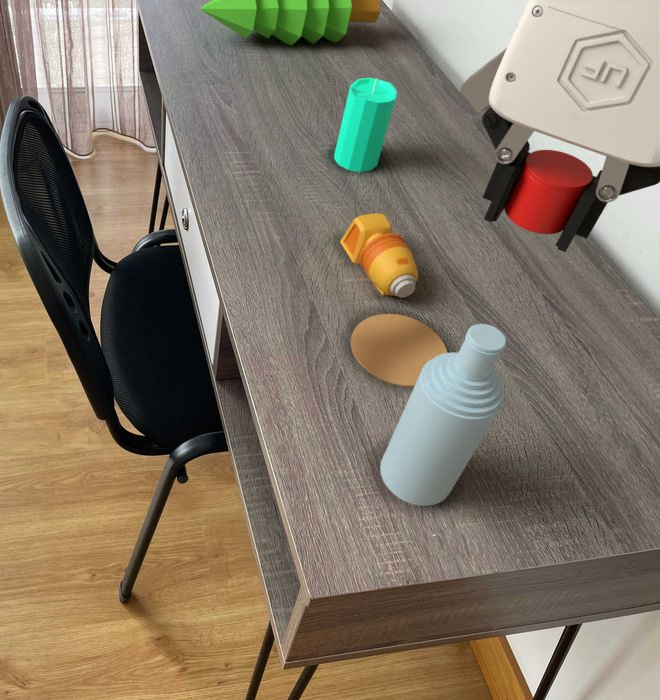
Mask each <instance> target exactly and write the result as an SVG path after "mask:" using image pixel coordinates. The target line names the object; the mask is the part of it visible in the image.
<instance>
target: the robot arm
mask: <svg viewBox="0 0 660 700" xmlns="http://www.w3.org/2000/svg"><path fill="white" fill-rule="evenodd" d="M460 86H461V87H460V94H461V96H462V97H463V98H464V99H465V100H466V102H467V103H468V104H469V106H470V107H471V108H472V109H473V110H474V112H475V113H476V114H477V115H479V116H480V117H481V122H482V125H483V127H484V128H485V131H486V133H487V135H488V137H489V139H490V142H491V143H492V145H493V147H494V153H493V154H494V159H495V160H496V164H495V166H494V168H493V171H492V173H491V176H490V178H489V179H488V183H487V185H486V187H485V190H484V192H483V194H482V199H483V200H486V201H490V204H489V205H488V208H487V211H486V213H485V215H484V218H483V221H487V222H489V223H491V224H492V223H493V222H497V221H498V219H499V218H500V216H501V214H503V212H504V211H505V204H506V202H507V200H508V198H509V196H510V193H511V191H512V189H513V187H514V185H515V182H516V180H517V178H518V176H519V174H520V171H521V169H522V167H523V165H524V162H525V160H526V157H527V156H528V155H529V154H530V153H531V152H529V151H530V150H531V145H530V143H529V139H530V138H531V137H532V135H533V133H534V132H536V133H539V134H542V135H545V136H547V137H550V138H553V139H556V140H559V141H561V142H563V143H567V144H570V145H572V146H576V147H579V148H581V149H584V150H587V151H590V152H592V153H596V154H597V155H602V156H604V157H605V160H604V163H603V166H602V169H600V170H599V171H598V173H597V175H596V176H595V175H593V179H592V181H591V183H590V184H589V185H588V186H587V188H586V190H585V191H584V193H583V195H582V197H581V199H580V201H579V202H578V204H577V206H576V208H575V210H574V212H573V213H572V215H571V217H570V219H569V221H568V223H567V225H566V226H565V228H564V230H563V231H561V234H560V236H559V237H558V239H557V241H556V243H555V247H557V248H556V249H557V250H558V251H561V252H564V253H566V252H567V250H568V248H569V247H570V245H571V243H572V241H573V240H574V238H575V236H578V237H580V238H583V239H586V240H587V239H588V238H589V236H590V234H591V233H592V231H593V229H594V228H595V226H596V224H597V222H598V220H599V219H600V218H601V215H602V214H603V212H604V210H605V209H606V207H607V205H608V204H609V203H612V202H614V201H616V200H617V199H618V198H619V196H622V195H626V194H630V193H633V192H636V191H639V190H643V189H646V188H649V187H653V186H656V185H658V184H660V0H528V1H527V2H526V4H525V7H524V8H523V10H522V13H521V15H520V18H519V19H518V22H517V24H516V26H515V29H514V30H513V34H512V36H511V38H510V40H509V42H508V44H507V46H506V47H505V48H504V49H503V50H502V51H501V52H499V53H498V54H497V55H495V56H494V57H493V58H491V59H490V60H489V61H488V62H487V63H485V64H484V65H482V66H480V68H479V69H478V70H476V71H475V72H474V73H472V74H471V75H470V76H469V77H468V78H467V79H466V80H465V81H464V83H463V84H461V85H460Z"/></svg>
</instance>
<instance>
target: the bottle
mask: <svg viewBox="0 0 660 700" xmlns="http://www.w3.org/2000/svg"><path fill="white" fill-rule="evenodd" d="M464 338H465V339H464V341H463V343H462V345H461V347H460V349H459V351H457V352H448V353H444V354H441V355H438V356H436V357H434V358H433V359H431V360H430V361H428V362H427V363H426V364H425V365H424V367H423V368H422V371H421V373H420V375H419V377H418V380H417V382H416V384H415V386H414V387H413V388H412V391H411V393H410V396H409V398H408V400H407V403H406V404H405V407H404V409H403V411H402V413H401V415H400V418H399V420H398V422H397V425H396V427H395V428H394V431H393V434H392V436H391V438H390V440H389V443H388V445H387V447H386V449H385V452H384V453H383V455H382V458H381V461H380V466H379V467H380V475H381V478H382V481H383V483H384V485H385V486H386V487H387V489H388V490H389V491H390V492H391V493H392V494H393V495H395V496H396V497H397V498H398V499H400V500H402V501H403V502H406V503H408V504H411V505H415V506H420V507H421V506H422V507H429V506H434V505H438V504H440V503H441V502H443V501H445V500H446V499H447V498H448V496H449V495H450V493H451V492H452V490H453V488H454V487H455V485H456V483H457V482H458V481H459V479H460V477H461V475H462V473H463V472H464V470H465V469H466V467H467V465H468V463H470V460H471V459H472V457H473V455H474V454H475V452H476V451H477V449H478V447H479V445H480V444H481V442H482V441H483V439H484V437H485V436H486V434H487V433H488V431H489V429H490V427H491V426H492V424H493V422H494V421H495V419H496V417H497V416H498V414H499V412H500V411H501V409H502V407H503V405H504V402H505V387H504V383H503V381H502V379H501V377H500V375H499V374H498V373H497V371H496V370H495V369H494V367H495V364H496V363H497V361H498V359H499V357H500V356H501V354H502V353H503V352H504V351H505V349H506V347H507V340H506V336H505V334H504V333H503V332H502V331H501V330H500V329H499V328H497V327H495V326H494V325H492V324H491V325H490V324H488V323H487V324H486V323H478V324H473V325H471V326H470V327H469V328H468V330H467V332H466V333H465V337H464Z"/></svg>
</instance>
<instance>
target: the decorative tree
mask: <svg viewBox="0 0 660 700" xmlns="http://www.w3.org/2000/svg"><path fill="white" fill-rule="evenodd" d="M198 10H200V11H202V12H203V13H205V14H206V15H208V16H209V17H211V18H212V19H214V20H216V21H218V22H219V23H220V24H222V25H224V26H225V27H227V28H228V29H230V30H231V31H233V32H234V33H236V34H238V36H239V35H240V37H243V38H244V39H248V38H249V36H250V35H251V34H252V33H253V32H255V33H257V34H260V35H261V36H263V37H265V38H267V39H269V38H270V37H271V36H272V35H273V37H275V38H277V39H278V40H280V41H281V42H283V43H284V44H286V45H289V46H293V45H294V44H295V43H296V42H297V41H298V40H300V39H301V37H302V38H304V39H305V40H306V41H308V42H309V43H310V44H314V45H316V43H317V42H318V41H319V40H320V39H321V38H322V37H323V38H324V39H326V40H328V41H329V42H331V43H338V42H339V41H340V40H341V39H343V38H344V37H345V36H346V35H347V31H348V26H349V23H377V21H378V19H379V17H380V14H381V4H380V0H211V1H209V2H207V3H206V4H204V5H202V6H201V7H199V8H198Z"/></svg>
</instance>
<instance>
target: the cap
mask: <svg viewBox="0 0 660 700" xmlns="http://www.w3.org/2000/svg"><path fill="white" fill-rule="evenodd" d="M529 153H530V154H529V155H528V156H527V157H526V160H525V162H524V165H523V167H522V169H521V171H520V174H519V176H518V178H517V180H516V182H515V185H514V187H513V189H512V191H511V193H510V196H509V198H508V200H507V202H506V204H505V208H504V212H505V215H506V216H507V218H508V219H509V220H510V221H511V222H512V223H513V224H515V225H516V226H518V227H519V228H521V229H524V230H526V231H528V232H531V233H535V234H538V235H539V234H540V235H553V234H554V235H555V234H558V233H562V232H563V230H564V228H565V226H566V225H567V223H568V221H569V219H570V217H571V215H572V213H573V212H574V210H575V208H576V206H577V204H578V202H579V201H580V199H581V197H582V195H583V193H584V191H585V190H586V188H587V186H588V185H589V184H590V183H591V181H592V179H593V176H594V174H593V171H592V169H591V168H590V167H589V165H588V164H587V163H586V162H584V161H583V160H581V159H580V158H578V157H577V156H574V155H572V154H569V153H567V152H564V151H561V150H559V151H558V150H554V149H553V150H552V149H538V150H535V151H532V152H529Z"/></svg>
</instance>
